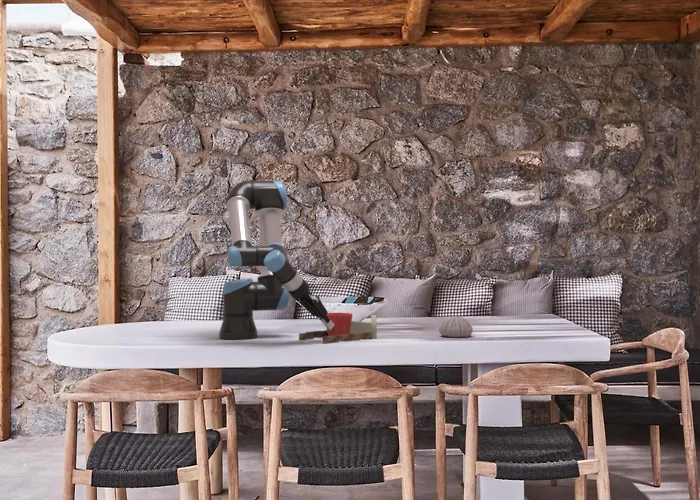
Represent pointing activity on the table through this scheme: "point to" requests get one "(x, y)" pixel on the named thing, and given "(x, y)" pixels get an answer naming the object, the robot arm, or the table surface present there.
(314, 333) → the walnut trap lane
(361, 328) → the sage end wall
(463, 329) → the sea urchin shell
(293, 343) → the table surface
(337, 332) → the flower pot
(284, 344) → the table surface
